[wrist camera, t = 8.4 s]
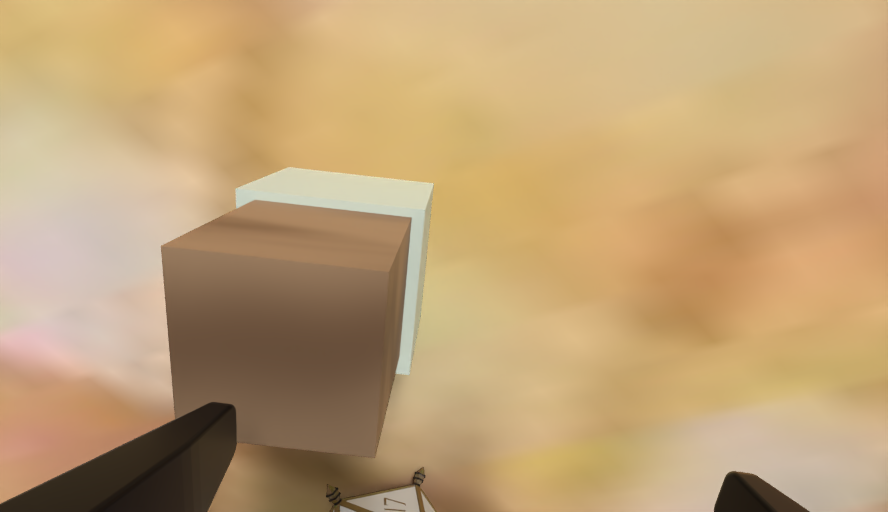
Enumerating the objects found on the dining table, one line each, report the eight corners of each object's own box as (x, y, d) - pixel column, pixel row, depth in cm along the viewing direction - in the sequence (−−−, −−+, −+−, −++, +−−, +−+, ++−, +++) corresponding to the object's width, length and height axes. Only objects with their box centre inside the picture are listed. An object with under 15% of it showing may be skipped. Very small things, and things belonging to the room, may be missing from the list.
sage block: (434, 182, 20) (425, 209, 15) (420, 314, 22) (409, 375, 17) (289, 166, 20) (235, 188, 15) (288, 299, 22) (241, 356, 17)
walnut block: (399, 356, 17) (374, 457, 12) (257, 339, 17) (176, 435, 12) (412, 217, 15) (388, 272, 10) (254, 199, 15) (161, 245, 10)
